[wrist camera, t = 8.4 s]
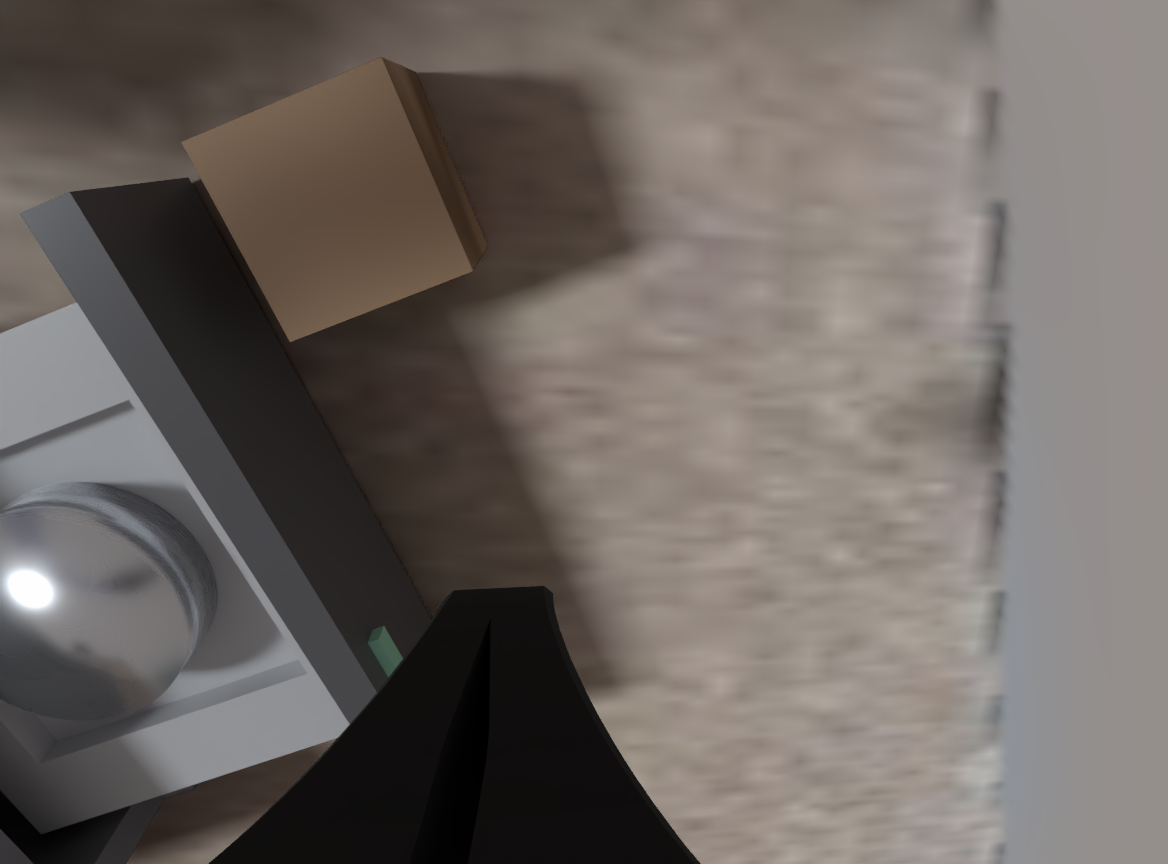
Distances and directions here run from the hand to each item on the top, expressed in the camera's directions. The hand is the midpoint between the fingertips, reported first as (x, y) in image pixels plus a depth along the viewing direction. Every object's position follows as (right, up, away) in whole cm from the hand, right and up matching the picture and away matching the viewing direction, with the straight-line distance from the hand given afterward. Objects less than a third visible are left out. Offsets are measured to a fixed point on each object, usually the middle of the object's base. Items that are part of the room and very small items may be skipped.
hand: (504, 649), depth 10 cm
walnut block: (-4, +8, +7) cm, 12 cm away
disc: (-11, -1, +9) cm, 14 cm away
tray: (-12, 0, +10) cm, 15 cm away
